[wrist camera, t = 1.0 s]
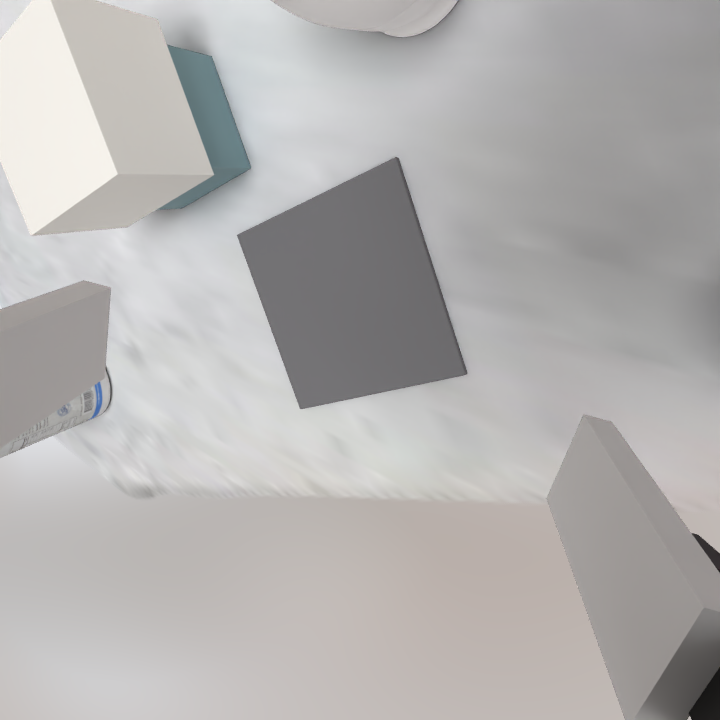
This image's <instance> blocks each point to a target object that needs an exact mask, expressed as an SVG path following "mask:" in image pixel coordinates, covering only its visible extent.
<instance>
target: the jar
mask: <svg viewBox="0 0 720 720" xmlns="http://www.w3.org/2000/svg"><path fill="white" fill-rule="evenodd" d="M271 1H272V2H274V3H275V4H277V5H278V6H280V7H281V8H283V9H285V10H287V11H288V12H290V13H292V14H294V15H296V16H298V17H300V18H302V19H305V20H307V21H310V22H313V23H316V24H319V25H322V26H327V27H331V28H338V29H349V30H360V31H381V32H383V33H385V34H388V35H391V36H395V37H409V36H414V35H418V34H420V33H423V32H425V31H427V30H429V29H430V28H432V27H434V26H435V25H436V24H438V23H439V22H440V21H441V20H442V19H443V18H444V17H445V16H446V15H447V14H448V13H449V12H450V11H451V10H452V8H453V7H454V6H455V4H456V3H457V1H458V0H271Z"/></svg>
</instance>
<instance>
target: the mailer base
mask: <svg viewBox="0 0 720 720" xmlns="http://www.w3.org/2000/svg"><path fill="white" fill-rule="evenodd" d="M167 47H168V49H169V52H170V55H171V58H172V60H173V63H174V66H175V69H176V71H177V74H178V77H179V80H180V82H181V85H182V88H183V91H184V93H185V96H186V99H187V102H188V104H189V107H190V110H191V113H192V115H193V118H194V121H195V124H196V126H197V129H198V132H199V135H200V137H201V140H202V143H203V146H204V148H205V151H206V154H207V157H208V159H209V162H210V165H211V168H212V170H213V173H214V175H213V176H212V177H210V178H208V179H207V180H205V181H203V182H202V183H200V184H198V185H197V186H195V187H193V188H192V189H190V190H188V191H187V192H185V193H183V194H182V195H180V196H178V197H177V198H175V199H173V200H172V201H170V202H168V203H167V204H165V205H163V206H162V207H160V208H158V209H157V210H161V209H178V208H183V207H185V206H187V205H188V204H190V203H192V202H194V201H195V200H197V199H199V198H200V197H202V196H204V195H206V194H207V193H209V192H211V191H212V190H214V189H216V188H218V187H219V186H221V185H223V184H225V183H226V182H228V181H230V180H231V179H233V178H235V177H237V176H238V175H240V174H242V173H244V172H245V171H247V170H249V169H250V168H251V166H250V164H249V161H248V158H247V155H246V152H245V149H244V147H243V144H242V141H241V138H240V135H239V133H238V130H237V127H236V124H235V121H234V118H233V116H232V113H231V110H230V107H229V104H228V102H227V99H226V96H225V93H224V90H223V87H222V85H221V82H220V79H219V76H218V73H217V71H216V68H215V65H214V62H213V59H212V56H208V55H204V54H200V53H197V52H193V51H189V50H185V49H181V48H177V47H173V46H170V45H167Z"/></svg>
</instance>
